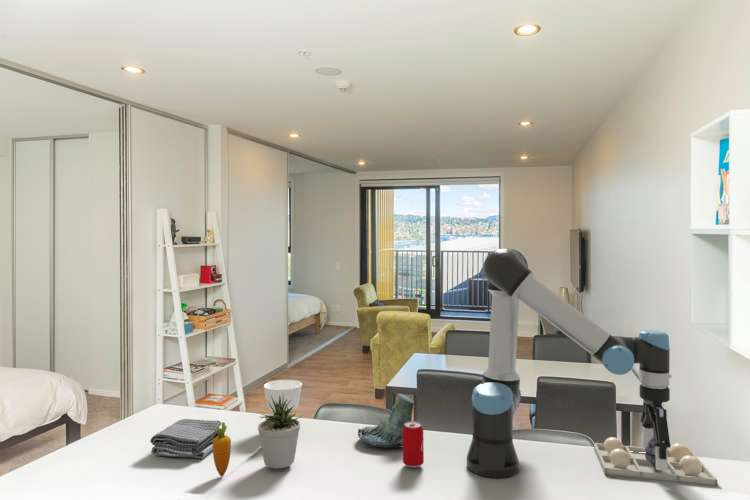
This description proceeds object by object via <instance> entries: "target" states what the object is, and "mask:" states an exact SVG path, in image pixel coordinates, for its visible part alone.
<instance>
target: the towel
mask: <svg viewBox="0 0 750 500" xmlns="http://www.w3.org/2000/svg"><path fill="white" fill-rule="evenodd" d="M221 426H222V422H221V421H220V420H208V419H207V420H205V419H195V418H194V419H192V418H191V419H190V418H182V419H179V420H177V421H175V422H174V423H172V424H171V425H169V426H167V427H166V428H164V429H163V430H161V431H159V432H158V433H155V434H154V435H153V436H152V437H151V438H150V440H149V442H150V443H151V444H152V448H151V452H150V453H151V454H152V455H155V456H160V457H174V458H175V457H176V458H193V459H201V460H202V459H204V458H205V457H207V455H209V454H210V453H211V452H213V440H214V438H216V437H217V436H219V435H218V434H217V432H216V431H214V430H213V428H216V429H217V428H220V430H221V429H222V427H221ZM217 430H218V429H217Z"/></svg>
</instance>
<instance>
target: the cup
mask: <svg viewBox="0 0 750 500" xmlns="http://www.w3.org/2000/svg"><path fill="white" fill-rule="evenodd" d="M302 386H303V383H302V382H301V381H299V380H295V379H278V380H277V379H276V380H272V381H268V382H266V383H264V385H263V391H264V395H265V399H266V405H267V408H268V409H269V411H270V412H271V413H274V412H273V410H272V408H273V409H274V411H275V407H274V404H273V401H272V398H273V400H274V402H275V400H276V402H278V403H279V396H280V397H281V407H282V400H283V393H284V400H283V403H284V402H285V401H286V400H287V399H288V400H287V401H286V403H285V404H286V405H287V404H288V403H289V401H290V403H289V404H288V405H287V407H288V409H290V408H292V407H293V406H294V407H293V408H292V410H291V411H290V413H293V412H294V411H296V409H297V407H298V405H299V402H300V395H301V392H302ZM271 395H272V397H271ZM268 401H269V403H270V405H271V406H272V408H271V407H270V405H269V403H268ZM276 402H275V403H276ZM286 405H285V406H286ZM285 406H284V408H285ZM287 407H286V410H285V411H287ZM292 411H293V412H292ZM275 412H276V411H275ZM288 416H290V414H289V415H288Z"/></svg>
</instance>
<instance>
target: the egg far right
mask: <svg viewBox="0 0 750 500" xmlns="http://www.w3.org/2000/svg"><path fill="white" fill-rule="evenodd" d="M668 450H669V452H670V455H671V457H672V458H673V459H674V460H675V461H677V462H680V459H681V458H682V457H683V456H686V455H691V454H690V452H691V451H690V449H689V448H688V446H687V445H686V444H683V443H679V442H675V443H672V445H671V446H670V448H669V449H668Z"/></svg>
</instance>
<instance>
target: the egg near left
mask: <svg viewBox="0 0 750 500" xmlns="http://www.w3.org/2000/svg"><path fill="white" fill-rule="evenodd" d="M610 461H611V463H612V464H613V465H614V466H615V467H617V468H620V469H624V468H626V467H628V466H629V464H630V457H629V455H628V453H627V452H626V451H624V450H622V449H614V450H612V451H611V453H610Z"/></svg>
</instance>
